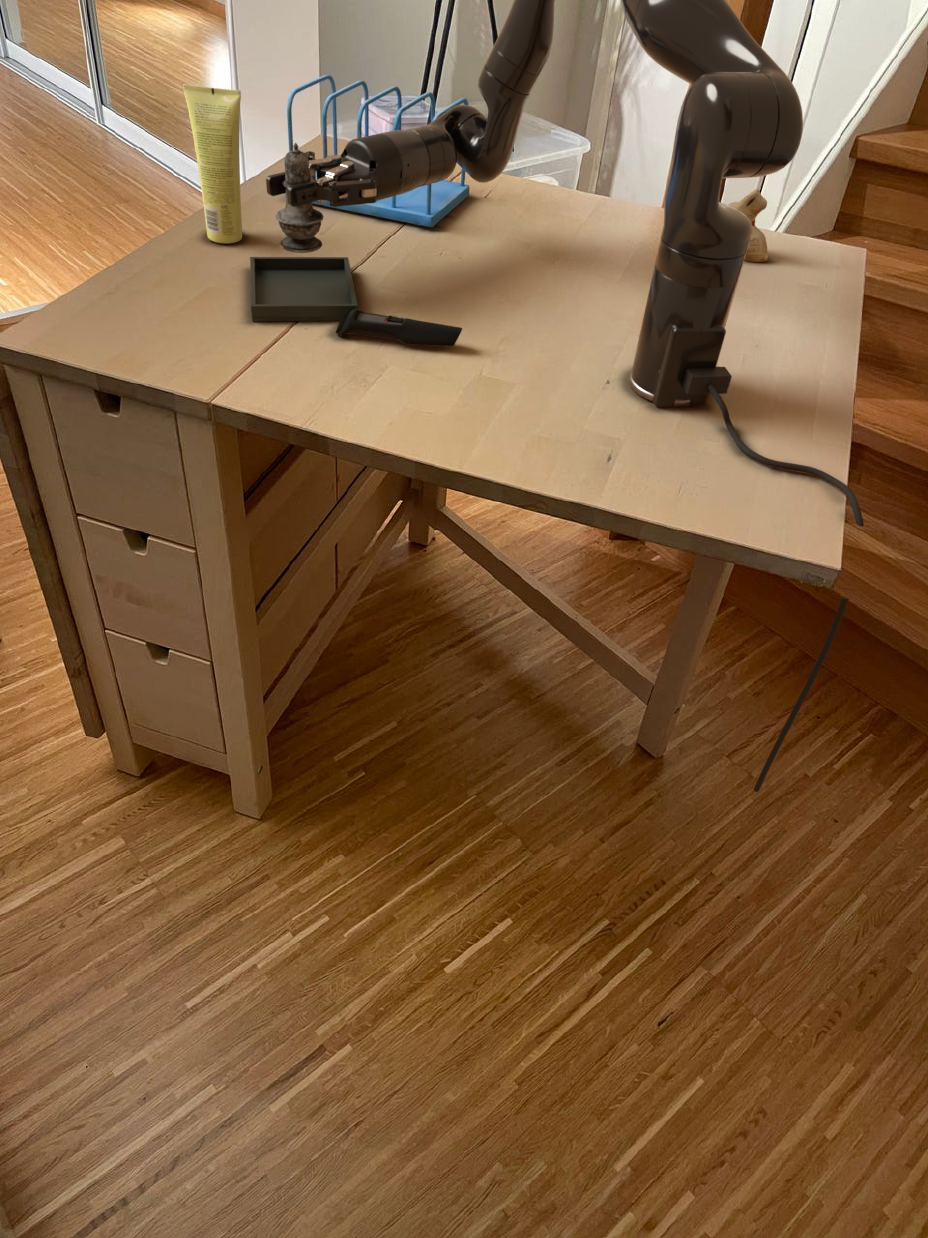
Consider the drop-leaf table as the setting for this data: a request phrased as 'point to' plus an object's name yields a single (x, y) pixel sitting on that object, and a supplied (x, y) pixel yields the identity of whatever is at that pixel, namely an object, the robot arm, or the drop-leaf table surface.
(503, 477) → the drop-leaf table surface
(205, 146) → the tube
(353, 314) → the electric trimmer
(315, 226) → the salt shaker
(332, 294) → the tray
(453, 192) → the file sorter
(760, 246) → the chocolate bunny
